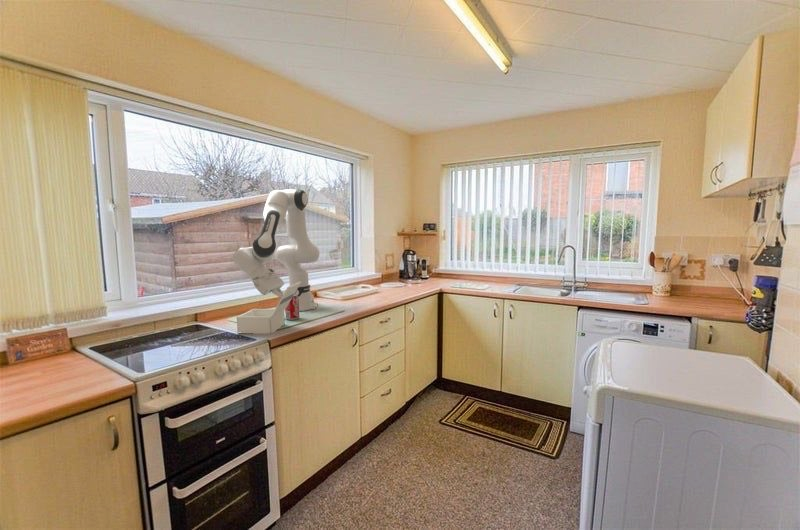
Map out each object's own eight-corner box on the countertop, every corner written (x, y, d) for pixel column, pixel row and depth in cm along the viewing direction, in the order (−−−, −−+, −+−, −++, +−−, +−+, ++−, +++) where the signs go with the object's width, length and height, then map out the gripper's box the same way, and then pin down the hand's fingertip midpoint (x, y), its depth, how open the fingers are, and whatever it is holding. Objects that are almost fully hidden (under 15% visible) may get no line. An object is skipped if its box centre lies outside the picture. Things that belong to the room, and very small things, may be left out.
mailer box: (254, 324, 177) (253, 308, 176) (284, 324, 176) (283, 309, 175) (237, 333, 161) (236, 316, 160) (271, 334, 160) (270, 317, 159)
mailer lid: (300, 281, 173) (301, 282, 173) (284, 308, 175) (285, 308, 175) (287, 287, 157) (288, 287, 157) (270, 316, 159) (272, 317, 159)
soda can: (295, 320, 183) (294, 296, 181) (283, 320, 184) (281, 296, 183) (301, 317, 190) (300, 294, 188) (289, 316, 191) (288, 293, 190)
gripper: (255, 274, 155) (277, 295, 155) (274, 268, 175) (293, 287, 176) (246, 284, 156) (268, 305, 156) (265, 277, 176) (285, 296, 176)
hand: (281, 296), depth 166 cm, fingers closed
